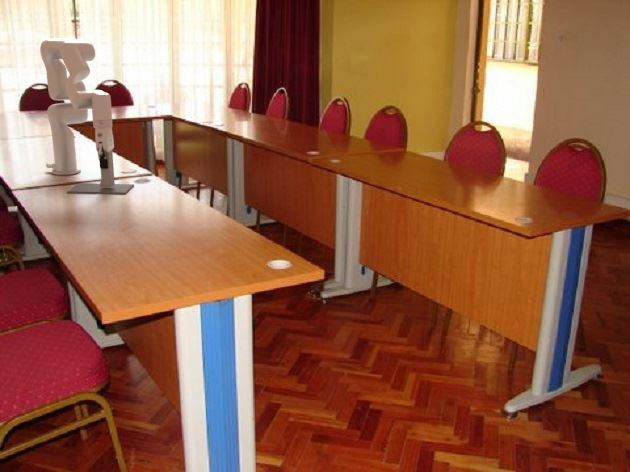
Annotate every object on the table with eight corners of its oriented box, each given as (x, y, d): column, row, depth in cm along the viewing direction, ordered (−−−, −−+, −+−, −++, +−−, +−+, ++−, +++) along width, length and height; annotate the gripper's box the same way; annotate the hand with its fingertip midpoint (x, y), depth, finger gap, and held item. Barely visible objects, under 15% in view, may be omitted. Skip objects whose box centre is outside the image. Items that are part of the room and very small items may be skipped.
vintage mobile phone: (103, 184, 285) (99, 126, 276) (114, 185, 284) (110, 126, 276) (99, 186, 281) (95, 127, 273) (111, 187, 281) (107, 128, 272)
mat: (67, 193, 277) (67, 191, 277) (78, 184, 290) (78, 183, 290) (125, 194, 277) (125, 192, 277) (133, 186, 291) (133, 184, 290)
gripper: (106, 127, 266) (109, 172, 272) (117, 120, 282) (120, 163, 288) (87, 126, 266) (90, 171, 272) (99, 119, 282) (102, 162, 288)
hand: (105, 166), depth 280 cm, fingers closed on vintage mobile phone, 4 cm apart
